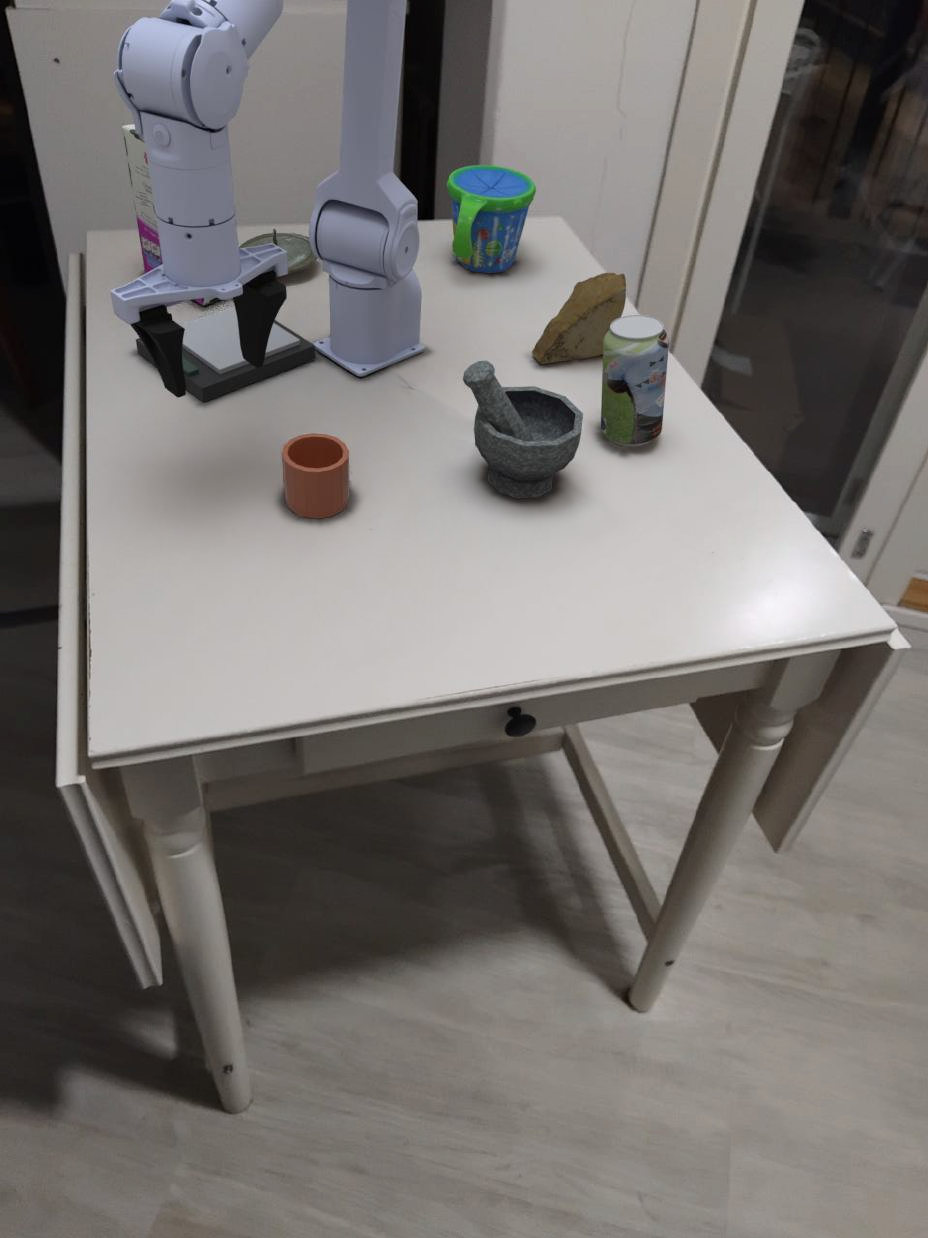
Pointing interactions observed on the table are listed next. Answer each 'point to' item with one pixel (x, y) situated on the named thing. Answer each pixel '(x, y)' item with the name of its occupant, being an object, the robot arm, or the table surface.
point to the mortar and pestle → (522, 432)
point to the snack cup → (488, 215)
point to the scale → (231, 354)
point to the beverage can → (634, 380)
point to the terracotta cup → (316, 475)
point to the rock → (583, 320)
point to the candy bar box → (145, 203)
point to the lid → (287, 248)
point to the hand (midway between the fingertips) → (215, 376)
